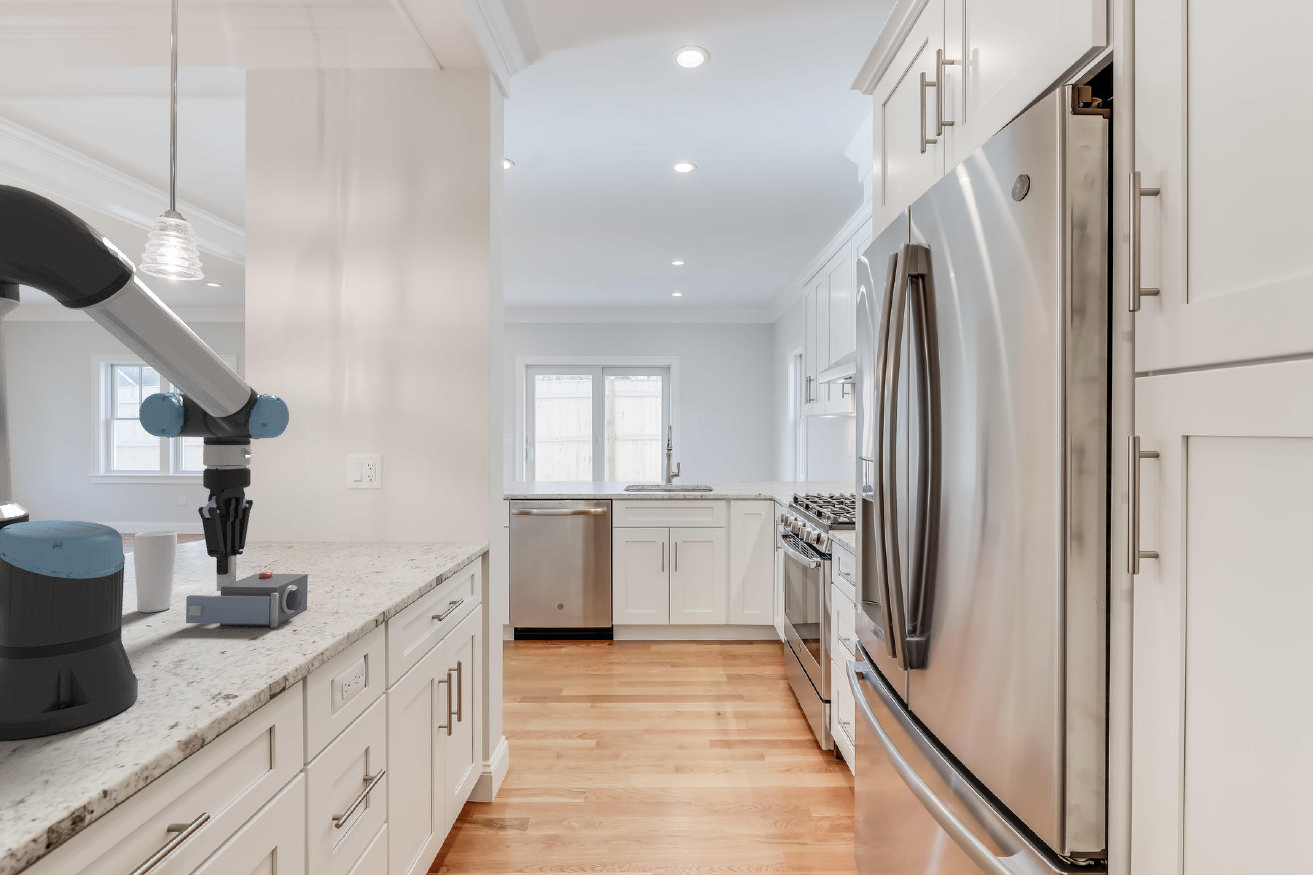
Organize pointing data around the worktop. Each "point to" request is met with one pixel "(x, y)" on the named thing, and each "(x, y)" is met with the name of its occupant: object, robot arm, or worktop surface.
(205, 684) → the worktop surface
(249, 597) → the side door
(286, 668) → the worktop surface
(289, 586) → the camera box
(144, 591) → the drinking glass
